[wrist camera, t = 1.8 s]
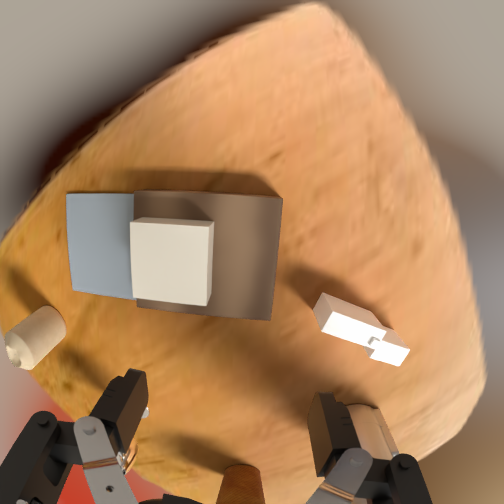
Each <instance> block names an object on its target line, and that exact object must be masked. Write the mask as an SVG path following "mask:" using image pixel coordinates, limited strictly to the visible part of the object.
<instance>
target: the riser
mask: <svg viewBox="0 0 504 504" xmlns="http://www.w3.org/2000/svg"><path fill="white" fill-rule="evenodd" d="M282 205H283V198H281V197H277V196H265V195H253V194H239V193H223V192H206V191H184V190H154V189H144V190H137V191H134V210H133V221H134V220H137V219H139V218H142V217H149V218H167V219H184V220H200V221H214V237H213V260H212V289H211V295H210V298H209V301H208V303H207V306H200V305H190V304H181V303H172V302H164V301H156V300H148V299H140V298H136V300H137V307H141V308H148V309H156V310H163V311H171V312H180V313H188V314H197V315H207V316H217V317H228V318H240V319H253V320H268V321H271V313H272V304H273V295H274V286H275V277H276V267H277V257H278V247H279V237H280V227H281V216H282Z"/></svg>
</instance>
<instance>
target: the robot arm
mask: <svg viewBox="0 0 504 504" xmlns="http://www.w3.org/2000/svg"><path fill="white" fill-rule="evenodd" d="M147 403H148V387H147V379H146V373H145V372H144V371H140V370H136V369H131V368H130V369H129V370H128V371H127V373H126V374H125V376H124V377H121V376H117V377H116V378H114V379H113V380H112V381H110V383H109V384H108V386H107V388H106V390H105V391H104V392H103V395H102V396H101V397H100V399H99V400H98V402H97V404H96V405H95V407H94V408H93V410H92V412H91V413H90V415H89V416H85V417H82V418H80V419H78V420H77V421H76V422H63V421H57V419H56V417H55V415H54V414H52V413H50V412H48V411H39V412H37V413H35V414H34V415H33V416H32V417H31V418H30V420H29V421H28V423H27V424H26V426H25V427H24V429H23V430H22V432H21V433H20V435H19V437H18V438H17V440H16V441H15V443H14V444H13V446H12V448H11V449H10V451H9V453H8V454H7V456H6V458H5V459H4V461H3V463H2V464H1V466H0V504H57V501H58V499H59V496H60V494H61V491H62V489H63V487H64V484H65V482H66V480H67V477H68V475H69V473H70V470H71V468H72V466H73V464H78V465H83V470H84V473H85V476H86V479H87V482H88V485H89V488H90V490H91V493H92V496H93V498H94V501H95V503H96V504H202V503H200V502H197V501H194V500H192V499H189V498H184V497H178V496H173V495H169V494H163V499H151V500H146V501H142V502H139V503H138V502H137V500H136V498H135V496H134V494H133V492H132V490H131V488H130V486H129V484H128V482H127V480H126V478H125V476H124V474H123V472H122V469H121V467H120V465H119V463H118V460H117V458H116V457H117V455H118V453H119V452H121V453H124V454H127V451H128V449H129V446H130V444H131V441H132V439H133V437H134V434H135V432H136V430H137V427H138V425H139V423H140V420H141V418H142V416H143V413H144V411H145V409H146V406H147ZM308 429H309V434H310V440H311V446H312V451H313V457H314V463H315V469H316V475H317V477H324V476H325V480H324V481H323V483H322V484H321V485H320V486H319V487H318V488H317V490H316V491H315V492H314V494H313V495H312V496H311V497H310V499H309V500H308V501H307V502H306V504H432V501H431V498H430V495H429V492H428V489H427V487H426V484H425V481H424V478H423V476H422V473H421V470H420V468H419V465H418V462H417V461H416V459H415V458H414V457H412V456H411V455H408V454H399V451H398V448H397V446H396V444H395V442H394V439H393V437H392V435H391V433H390V430H389V428H388V426H387V424H386V422H385V419H384V417H383V415H382V413H381V411H380V409H373V408H371V407H370V406H367V405H363V404H353V405H348V406H345V405H344V404H343V403H342V402H336V401H335V398H334V395H333V393H332V392H316V394H315V396H314V399H313V402H312V405H311V408H310V411H309V414H308Z"/></svg>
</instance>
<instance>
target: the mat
mask: <svg viewBox="0 0 504 504" xmlns="http://www.w3.org/2000/svg"><path fill="white" fill-rule="evenodd" d="M133 210H134V194H116V193H79V194H66V212H67V236H68V251H69V262H70V271H71V280H72V287H73V290H75V291H81V292H86V293H92V294H99V295H105V296H111V297H118V298H125V299H132V300H136V298H133V290H132V274H131V252H130V222H132V221H133Z"/></svg>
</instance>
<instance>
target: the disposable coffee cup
mask: <svg viewBox="0 0 504 504" xmlns="http://www.w3.org/2000/svg"><path fill="white" fill-rule="evenodd" d="M216 504H265V499H264V493H263V488H262V482H261V476H260V471H259V470H258V469H257V468H255V467H252V466H248V465H234V466H230V467H228V468H227V469H226V470H225V473H224V477H223V480H222V484H221V487H220V491H219V494H218V498H217V502H216Z"/></svg>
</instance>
